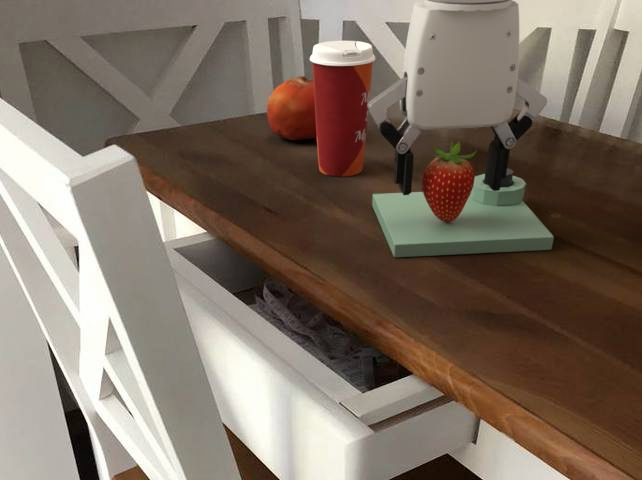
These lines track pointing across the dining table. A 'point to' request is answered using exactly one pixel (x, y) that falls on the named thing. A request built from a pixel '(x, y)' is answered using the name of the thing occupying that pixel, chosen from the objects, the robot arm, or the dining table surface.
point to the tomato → (293, 109)
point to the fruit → (448, 183)
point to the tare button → (506, 179)
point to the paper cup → (341, 104)
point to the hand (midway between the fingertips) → (448, 187)
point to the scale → (462, 223)
